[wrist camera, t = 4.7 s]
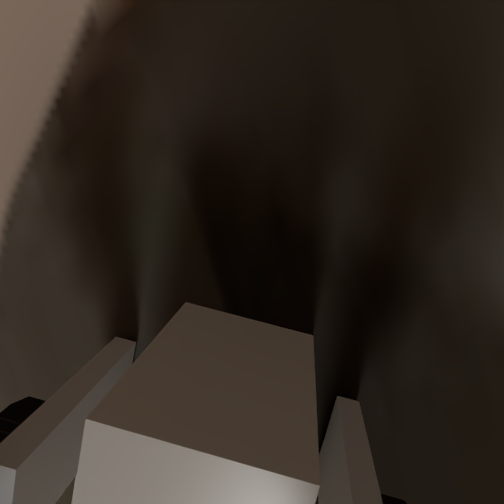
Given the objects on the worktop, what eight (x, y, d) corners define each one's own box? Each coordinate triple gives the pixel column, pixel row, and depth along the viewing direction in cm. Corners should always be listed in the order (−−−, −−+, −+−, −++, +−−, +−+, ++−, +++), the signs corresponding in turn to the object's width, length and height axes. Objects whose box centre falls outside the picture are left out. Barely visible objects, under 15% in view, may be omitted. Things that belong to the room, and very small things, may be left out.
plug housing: (185, 301, 15) (85, 418, 8) (313, 335, 15) (320, 486, 8) (155, 448, 16) (48, 655, 9) (272, 482, 16) (247, 721, 9)
